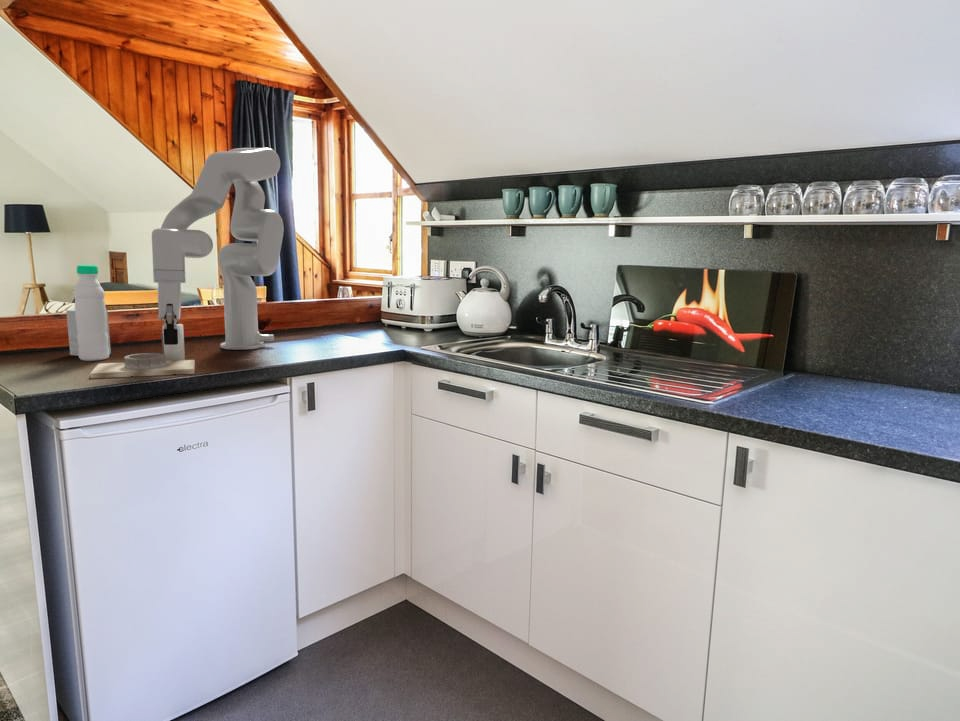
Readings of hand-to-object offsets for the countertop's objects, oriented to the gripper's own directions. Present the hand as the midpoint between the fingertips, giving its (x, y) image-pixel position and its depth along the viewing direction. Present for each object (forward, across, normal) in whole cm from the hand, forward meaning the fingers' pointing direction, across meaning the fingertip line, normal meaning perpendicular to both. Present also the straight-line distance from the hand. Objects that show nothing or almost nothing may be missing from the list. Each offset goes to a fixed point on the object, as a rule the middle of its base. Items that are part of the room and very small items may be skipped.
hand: (172, 342), depth 170 cm
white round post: (+6, 0, 0) cm, 6 cm away
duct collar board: (+6, +10, -6) cm, 13 cm away
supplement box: (+6, -18, -22) cm, 29 cm away
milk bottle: (+6, -10, -20) cm, 23 cm away
